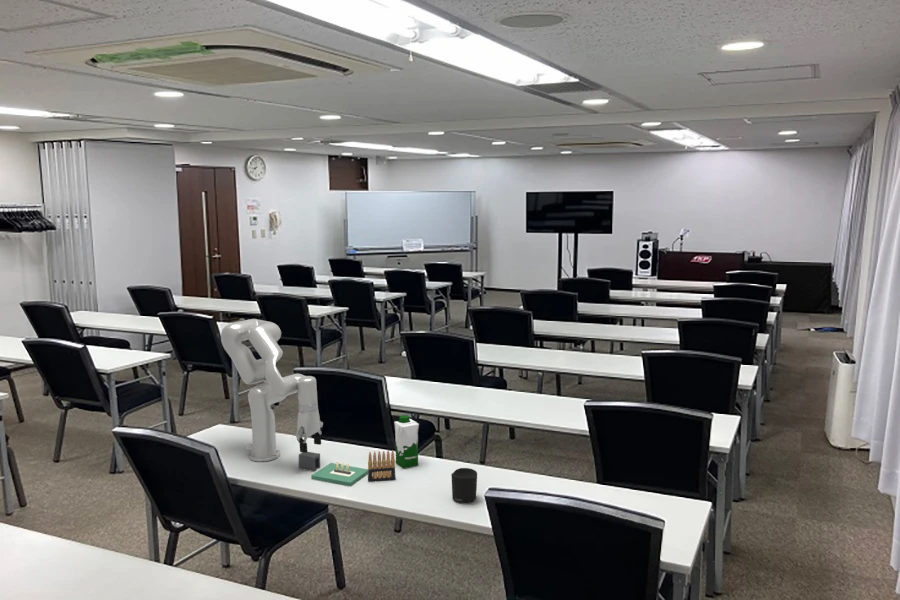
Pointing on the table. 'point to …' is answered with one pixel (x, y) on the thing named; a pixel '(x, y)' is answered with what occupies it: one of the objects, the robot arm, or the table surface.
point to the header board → (340, 474)
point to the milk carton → (406, 442)
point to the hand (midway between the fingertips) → (310, 448)
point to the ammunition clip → (381, 467)
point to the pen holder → (464, 485)
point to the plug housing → (309, 461)
